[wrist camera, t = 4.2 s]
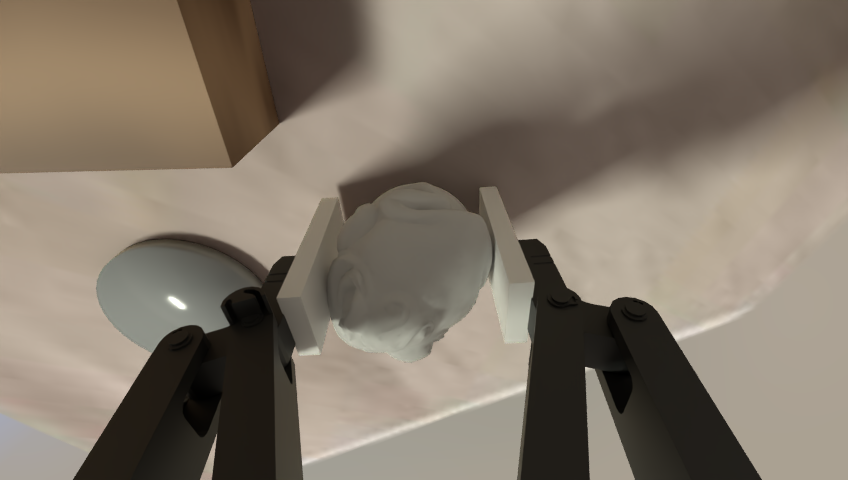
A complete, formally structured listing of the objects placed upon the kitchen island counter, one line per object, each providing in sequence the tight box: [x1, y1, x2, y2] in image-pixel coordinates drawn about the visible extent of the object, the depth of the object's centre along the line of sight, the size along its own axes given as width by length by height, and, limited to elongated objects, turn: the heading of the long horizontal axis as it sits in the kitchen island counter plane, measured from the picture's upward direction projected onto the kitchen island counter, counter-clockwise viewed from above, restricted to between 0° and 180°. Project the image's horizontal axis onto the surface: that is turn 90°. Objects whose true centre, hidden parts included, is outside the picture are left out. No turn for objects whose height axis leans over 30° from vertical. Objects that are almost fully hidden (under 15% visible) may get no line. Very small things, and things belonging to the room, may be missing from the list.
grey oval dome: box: [96, 239, 263, 353], centre depth 21 cm, size 9×9×1 cm
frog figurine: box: [326, 182, 492, 363], centre depth 15 cm, size 6×7×7 cm
